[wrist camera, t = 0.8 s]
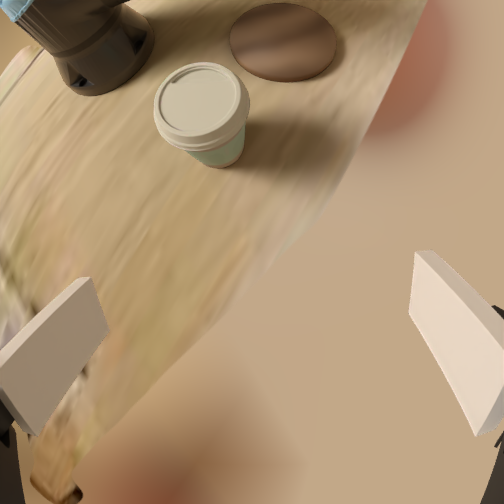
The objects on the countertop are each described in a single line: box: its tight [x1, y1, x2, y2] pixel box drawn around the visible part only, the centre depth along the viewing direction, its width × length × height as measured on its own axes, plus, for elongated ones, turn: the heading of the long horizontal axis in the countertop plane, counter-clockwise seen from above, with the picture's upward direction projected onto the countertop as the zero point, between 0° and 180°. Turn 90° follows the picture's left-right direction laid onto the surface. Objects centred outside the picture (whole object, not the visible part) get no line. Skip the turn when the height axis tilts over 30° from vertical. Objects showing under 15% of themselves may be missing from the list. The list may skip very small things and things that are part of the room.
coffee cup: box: [154, 62, 250, 168], centre depth 29 cm, size 9×9×12 cm
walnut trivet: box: [230, 3, 337, 82], centre depth 35 cm, size 14×14×2 cm
